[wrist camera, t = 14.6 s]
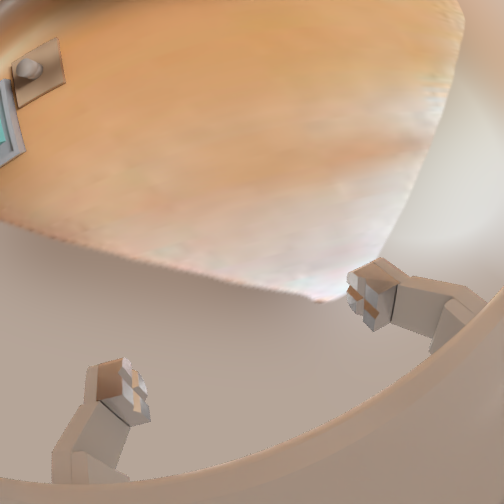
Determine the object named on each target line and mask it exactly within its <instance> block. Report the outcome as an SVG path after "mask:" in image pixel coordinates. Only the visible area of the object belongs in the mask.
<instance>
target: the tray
mask: <svg viewBox="0 0 504 504" xmlns="http://www.w3.org/2000/svg"><path fill="white" fill-rule="evenodd" d="M0 119H1V124H2V128H3V132H4V136H5V140H6V141H5V142H4V143H2V144H1V145H0V168H1V167H2V166H4V165H5V164H7V163H8V162H10V161H11V160H13V159H14V158H16V157H18V156H19V155H21V154H22V153H24V152H26V149H25V145H24V142H23V138H22V134H21V130H20V126H19V122H18V118H17V113H16V108H15V103H14V98H13V92H12V86H11V80H9V79H3V80H1V81H0Z"/></svg>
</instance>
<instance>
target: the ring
mask: <svg viewBox="0 0 504 504" xmlns="http://www.w3.org/2000/svg"><path fill="white" fill-rule="evenodd" d="M5 141H6V140H5V136H4V132H3V128H2V124H1V119H0V145H1V144H2V143H4V142H5Z"/></svg>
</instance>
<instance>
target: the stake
mask: <svg viewBox="0 0 504 504" xmlns="http://www.w3.org/2000/svg"><path fill="white" fill-rule="evenodd" d="M12 71H13V78H14V85H15V91H16V97H17V102H18V107H19V108H22V107H24V106H25V105H27V104H28V103H30V102H32V101H34V100H35V99H37V98H39V97H40V96H42V95H44V94H46V93H48V92H49V91H51V90H53V89H55V88H57V87H59V86H61V85H63V84H65V83H66V81H65V75H64V70H63V65H62V59H61V52H60V45H59V39H58V38H57V37H56V38H54V39H52V40H50V41H48V42H46V43H44V44H42V45H41V46H39V47H37V48H35V49H34V50H32V51H30V52H29V53H27V54H25V55H24V56H22V57H20V58H19V59H17V60H16V61H14V62H13V63H12Z"/></svg>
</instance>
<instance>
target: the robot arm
mask: <svg viewBox="0 0 504 504" xmlns="http://www.w3.org/2000/svg"><path fill="white" fill-rule="evenodd" d="M347 283H348V284H349V285H350V286H349V288H348V290H347V300H348V303H349V306H350V307H351V309H352V310H353V311H354V312H355V313H356V314H358V315H362V316H363V322H364V323H365V324H366V325H367V326H368V327H369V328H370V329H371V330H372V331H373V332H375V331H376V330H378V329H380V328H382V327H384V326H385V325H387V324H389V323H392V324H394V325H397V326H400V327H402V328H405V329H408V330H410V331H413V332H416V333H418V334H421V335H424V336H427V337H429V338H432V342H431V344H430V347H429V352H430V353H431V354H432V355H431V356H430V357H428V358H427V359H426V360H424V361H423V362H422V363H420V364H419V365H418V366H417V367H415V368H414V369H412V370H411V371H410V372H408V373H407V374H406V375H404V376H403V377H401V378H400V379H398V380H397V381H396V382H394V383H393V384H391V385H390V386H388V387H387V388H385V389H383V390H382V391H380V392H379V393H377V394H376V395H374V396H372V397H371V398H369V399H368V400H366V401H364V402H363V403H361V404H359V405H357V406H356V407H354V408H352V409H350V410H349V411H347V412H345V413H343V414H341V415H340V416H338V417H336V418H334V419H332V420H330V421H328V422H326V423H324V424H322V425H320V426H318V427H316V428H314V429H312V430H310V431H307V432H305V433H303V434H301V435H299V436H296V437H294V438H292V439H289V440H287V441H285V442H282V443H280V444H277V445H275V446H272V447H270V448H267V449H264V450H262V451H259V452H256V453H253V454H250V455H248V456H244V457H241V458H239V459H235V460H232V461H229V462H225V463H222V464H219V465H215V466H211V467H208V468H204V469H200V470H195V471H191V472H187V473H182V474H177V475H172V476H166V477H161V478H155V479H148V480H140V481H132V482H130V479H129V477H128V476H127V475H126V474H124V473H122V472H119V471H118V470H116V466H117V463H118V461H119V458H120V455H121V452H122V450H123V447H124V444H125V441H126V438H127V436H128V433H129V431H130V427H132V426H136V425H140V424H144V423H148V422H150V421H151V420H150V412H149V406H148V405H147V404H146V403H145V402H144V401H145V400H146V398H147V388H146V385H145V382H144V380H143V378H142V376H141V375H140V374H139V372H138V371H135V370H133V369H132V364H131V362H130V361H129V360H128V359H127V358H120V359H116V360H113V361H109V362H105V363H101V364H98V365H94V366H90V367H88V369H87V371H86V381H85V393H84V404H83V405H80V406H79V408H78V410H77V411H76V413H75V414H74V416H73V418H72V419H71V421H70V422H69V424H68V426H67V428H66V429H65V431H64V432H63V434H62V436H61V438H60V439H59V441H58V442H57V444H56V446H55V448H54V449H53V451H52V484H49V483H38V482H28V481H21V480H14V479H8V478H3V477H0V504H504V286H503V287H502V288H501V290H500V291H499V292H498V293H497V294H496V295H495V296H494V297H493V299H491V300H490V302H489V303H487V302H486V301H484V300H483V299H482V298H481V297H479V296H478V295H477V294H475V293H474V292H473V291H471V290H470V289H469V288H467V287H466V286H462V285H457V284H452V283H447V282H442V281H437V280H432V279H427V278H422V277H417V276H412V277H409V276H408V275H407V274H405V273H404V272H402V271H401V270H400V269H398V268H397V267H396V266H394V265H393V264H391V263H390V262H389V261H387V260H386V259H384V258H381V257H380V258H378V259H376V260H374V261H372V262H370V263H368V264H366V265H364V266H362V267H359V268H357V269H355V270H353V271H351V272H349V273H348V275H347Z"/></svg>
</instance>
